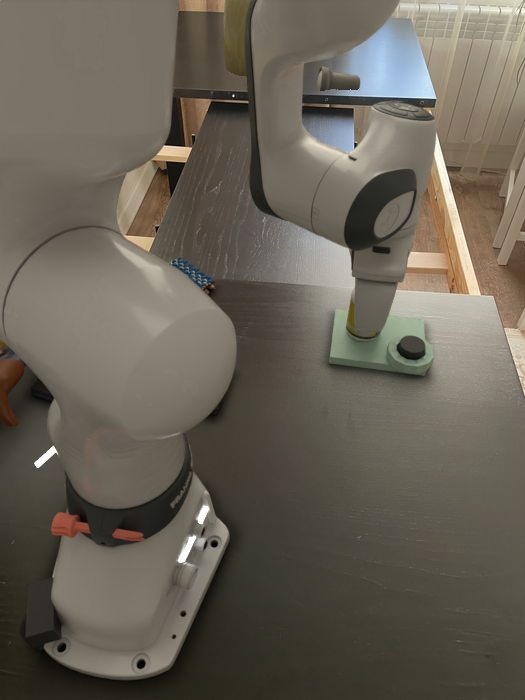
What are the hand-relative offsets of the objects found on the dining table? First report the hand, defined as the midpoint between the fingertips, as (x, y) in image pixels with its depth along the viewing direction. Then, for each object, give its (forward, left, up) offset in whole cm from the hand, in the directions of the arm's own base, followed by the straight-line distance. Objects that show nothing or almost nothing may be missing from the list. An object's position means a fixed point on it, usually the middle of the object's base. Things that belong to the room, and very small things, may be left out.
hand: (365, 312), depth 80 cm
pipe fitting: (+96, +11, -1) cm, 97 cm away
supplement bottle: (0, 0, -4) cm, 4 cm away
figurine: (-27, +47, -1) cm, 54 cm away
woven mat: (+6, +32, -6) cm, 33 cm away
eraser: (-19, +40, -3) cm, 44 cm away
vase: (+112, +39, -6) cm, 118 cm away
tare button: (-4, -7, -3) cm, 9 cm away
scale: (-1, -3, -5) cm, 6 cm away
